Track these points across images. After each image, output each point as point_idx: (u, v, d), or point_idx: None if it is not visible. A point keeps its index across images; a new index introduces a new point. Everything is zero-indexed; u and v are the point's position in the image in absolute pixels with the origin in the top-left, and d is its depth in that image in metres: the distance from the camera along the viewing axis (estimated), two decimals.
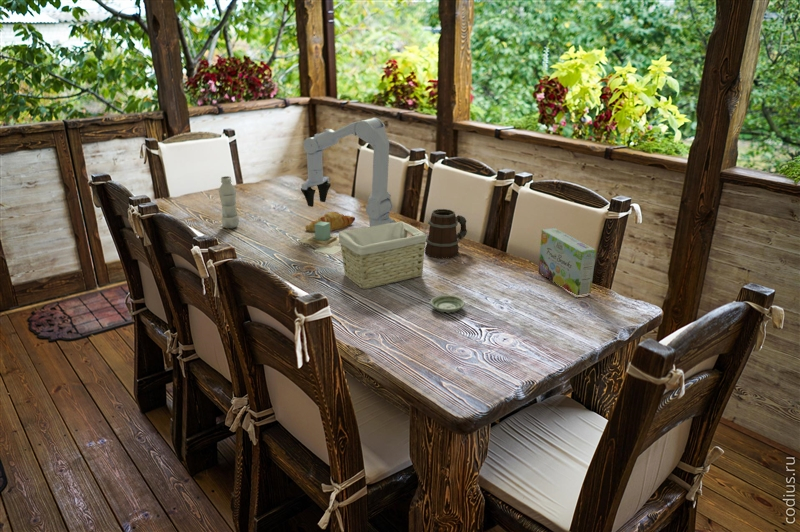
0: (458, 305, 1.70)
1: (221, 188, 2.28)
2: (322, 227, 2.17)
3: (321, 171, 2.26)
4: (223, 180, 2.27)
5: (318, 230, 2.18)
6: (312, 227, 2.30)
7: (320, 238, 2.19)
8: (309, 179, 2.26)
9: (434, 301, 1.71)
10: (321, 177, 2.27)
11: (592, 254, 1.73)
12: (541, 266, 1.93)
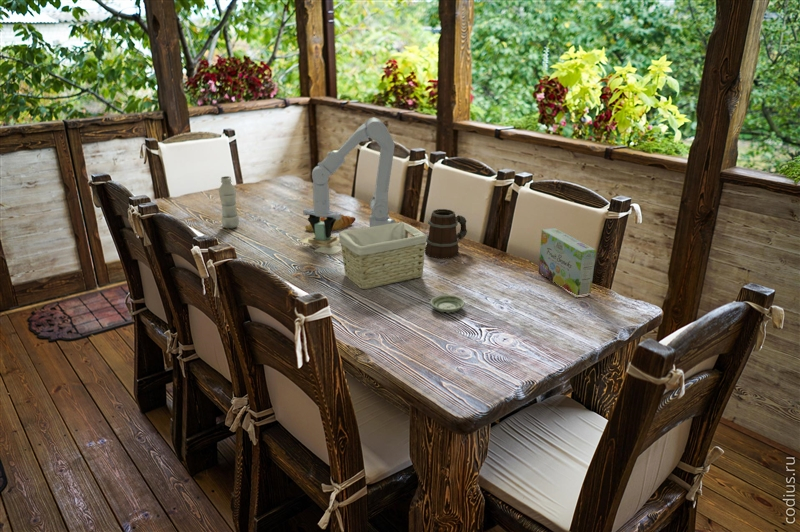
0: (458, 305, 1.70)
1: (221, 188, 2.28)
2: (322, 227, 2.17)
3: (317, 203, 2.13)
4: (223, 180, 2.27)
5: (318, 230, 2.18)
6: None
7: (320, 238, 2.19)
8: None
9: (434, 301, 1.71)
10: (317, 209, 2.14)
11: (592, 254, 1.73)
12: (541, 266, 1.93)
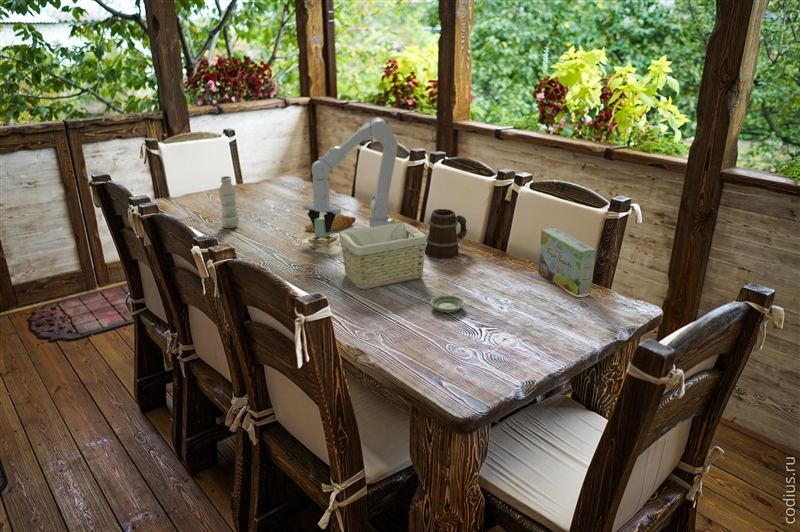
0: (458, 305, 1.70)
1: (221, 188, 2.28)
2: (322, 222, 2.16)
3: (317, 198, 2.13)
4: (223, 180, 2.27)
5: (318, 225, 2.17)
6: (312, 227, 2.30)
7: (320, 233, 2.18)
8: None
9: (434, 301, 1.71)
10: (317, 204, 2.14)
11: (592, 254, 1.73)
12: (541, 266, 1.93)
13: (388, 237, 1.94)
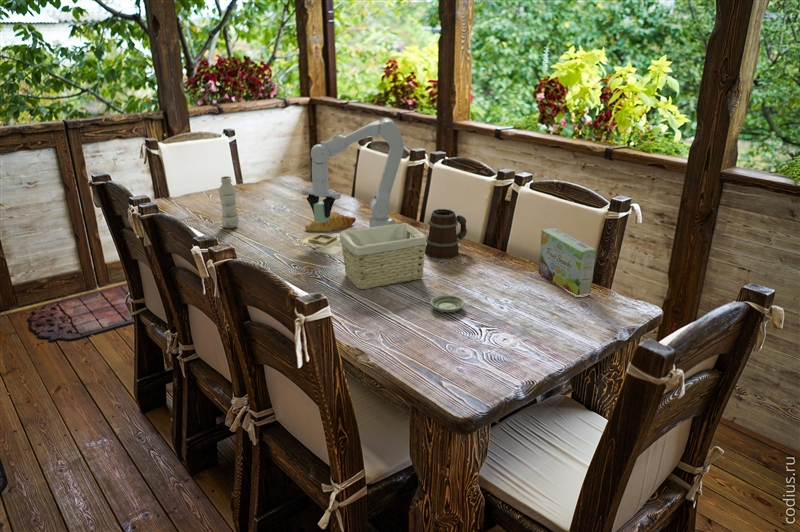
0: (458, 305, 1.70)
1: (221, 188, 2.28)
2: (321, 207, 2.14)
3: (316, 183, 2.11)
4: (223, 180, 2.27)
5: (317, 210, 2.15)
6: (311, 227, 2.30)
7: (319, 218, 2.16)
8: None
9: (434, 301, 1.71)
10: (316, 189, 2.11)
11: (592, 254, 1.73)
12: (541, 266, 1.93)
13: (389, 237, 1.93)
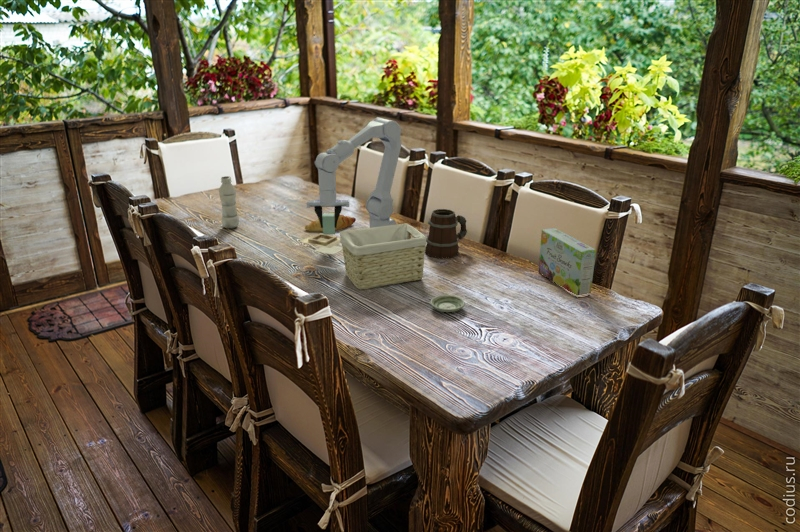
0: (458, 305, 1.70)
1: (221, 188, 2.28)
2: (332, 218, 2.07)
3: (327, 192, 2.02)
4: (223, 180, 2.27)
5: (327, 222, 2.07)
6: (311, 227, 2.30)
7: (329, 230, 2.08)
8: None
9: (434, 301, 1.71)
10: (327, 199, 2.03)
11: (592, 254, 1.73)
12: (541, 266, 1.93)
13: (390, 238, 1.93)
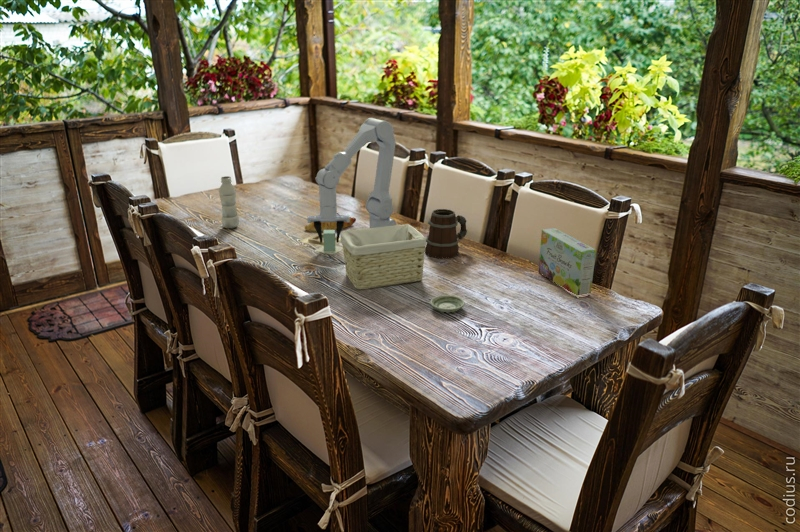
0: (458, 305, 1.70)
1: (221, 188, 2.28)
2: (333, 235, 2.09)
3: (327, 208, 2.04)
4: (223, 180, 2.27)
5: (328, 239, 2.09)
6: (311, 227, 2.30)
7: (330, 247, 2.10)
8: None
9: (434, 301, 1.72)
10: (328, 214, 2.05)
11: (592, 254, 1.73)
12: (541, 266, 1.93)
13: (390, 238, 1.93)
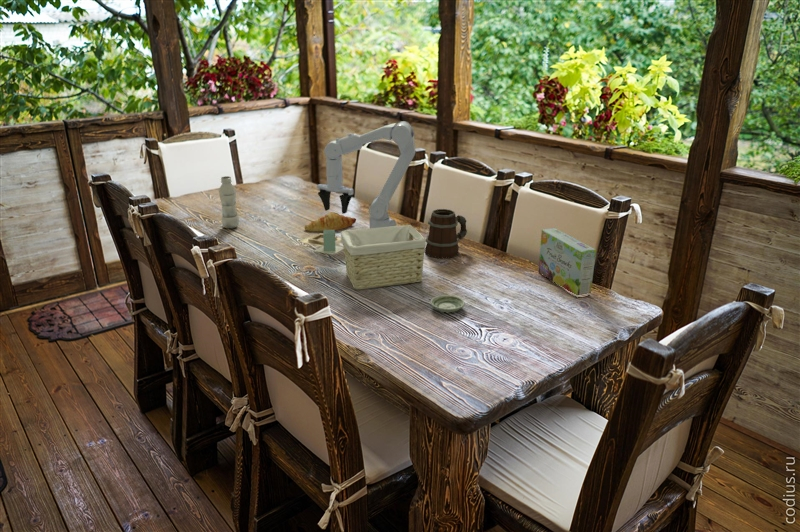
0: (458, 305, 1.70)
1: (221, 188, 2.28)
2: (333, 235, 2.09)
3: (330, 178, 2.15)
4: (223, 180, 2.27)
5: (328, 239, 2.09)
6: (311, 227, 2.30)
7: (330, 247, 2.10)
8: None
9: (435, 300, 1.72)
10: (330, 184, 2.15)
11: (592, 254, 1.73)
12: (541, 266, 1.93)
13: (391, 239, 1.92)
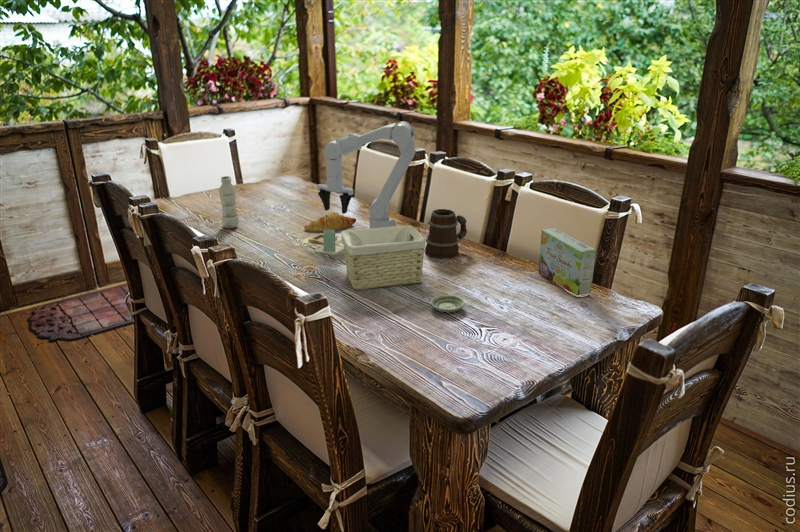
0: (458, 305, 1.70)
1: (221, 188, 2.28)
2: (333, 235, 2.09)
3: (330, 178, 2.15)
4: (223, 180, 2.27)
5: (328, 239, 2.09)
6: (310, 227, 2.30)
7: (330, 247, 2.10)
8: None
9: (435, 300, 1.72)
10: (330, 184, 2.15)
11: (592, 254, 1.73)
12: (541, 266, 1.93)
13: (392, 239, 1.92)
